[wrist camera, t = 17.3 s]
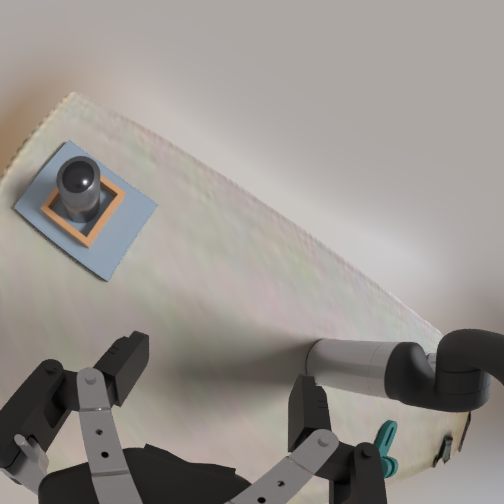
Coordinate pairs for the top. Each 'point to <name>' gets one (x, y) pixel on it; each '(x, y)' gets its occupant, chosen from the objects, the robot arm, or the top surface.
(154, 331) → the top surface
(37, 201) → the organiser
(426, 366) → the robot arm
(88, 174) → the grey capped cylinder
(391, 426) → the bracket
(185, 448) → the top surface
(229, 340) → the top surface
